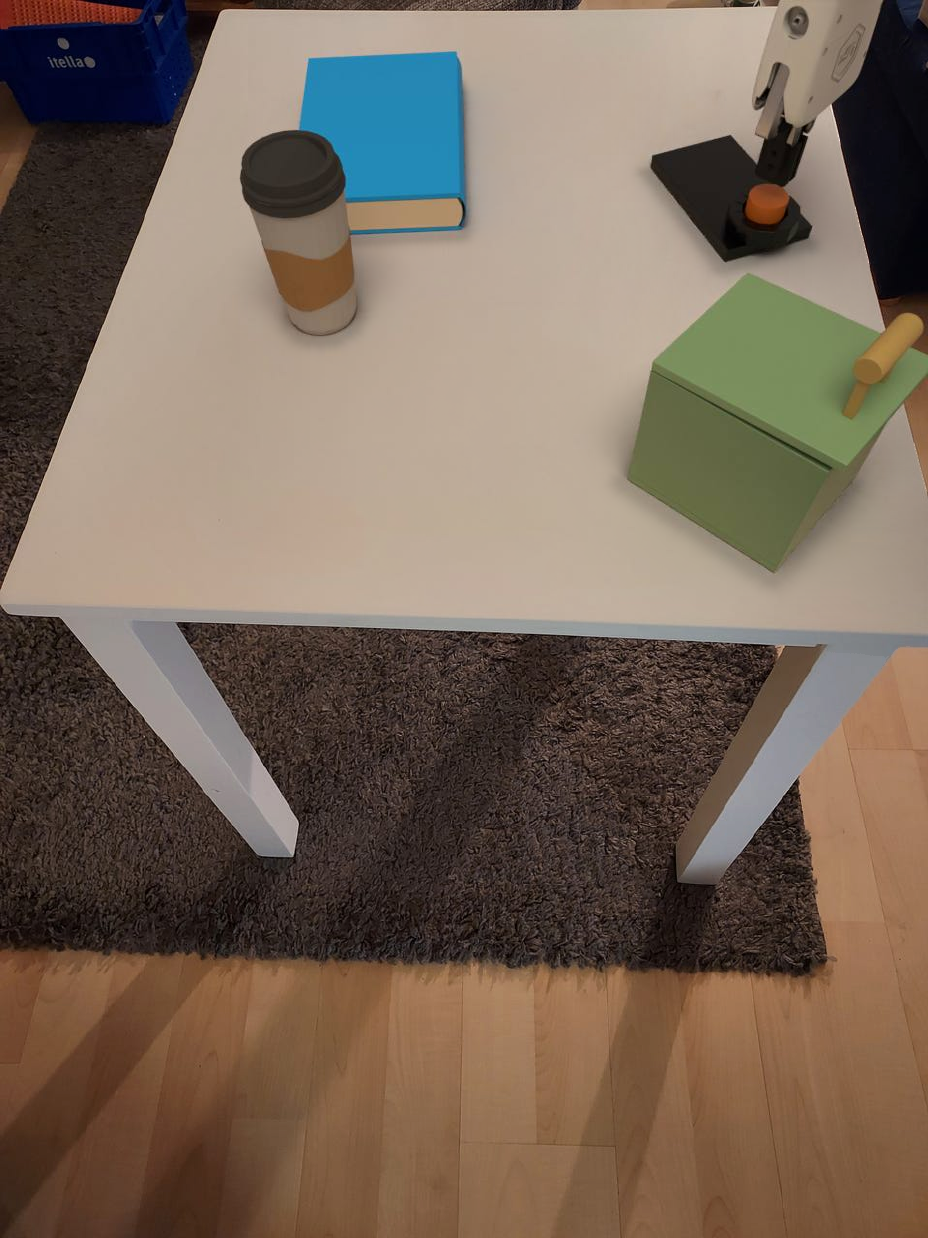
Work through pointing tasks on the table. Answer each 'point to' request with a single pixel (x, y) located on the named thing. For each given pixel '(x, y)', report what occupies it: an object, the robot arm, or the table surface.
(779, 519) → the chest
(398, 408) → the table surface
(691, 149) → the button housing
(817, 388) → the lid
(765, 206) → the button
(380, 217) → the book
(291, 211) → the coffee cup
